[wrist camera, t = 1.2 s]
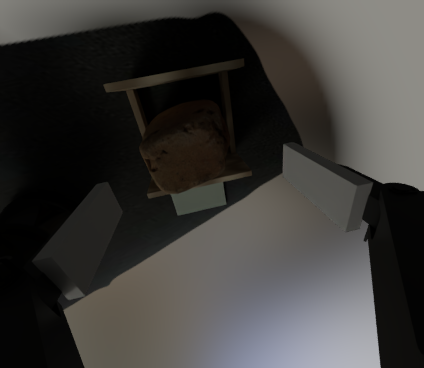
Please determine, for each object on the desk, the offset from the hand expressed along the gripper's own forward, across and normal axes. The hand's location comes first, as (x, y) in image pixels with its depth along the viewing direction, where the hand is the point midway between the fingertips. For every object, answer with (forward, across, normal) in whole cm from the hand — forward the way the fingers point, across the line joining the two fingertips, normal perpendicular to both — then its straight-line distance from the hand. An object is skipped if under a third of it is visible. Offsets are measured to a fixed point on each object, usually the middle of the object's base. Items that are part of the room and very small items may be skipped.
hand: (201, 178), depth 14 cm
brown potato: (+25, 0, 0) cm, 25 cm away
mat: (+25, -1, -15) cm, 29 cm away
